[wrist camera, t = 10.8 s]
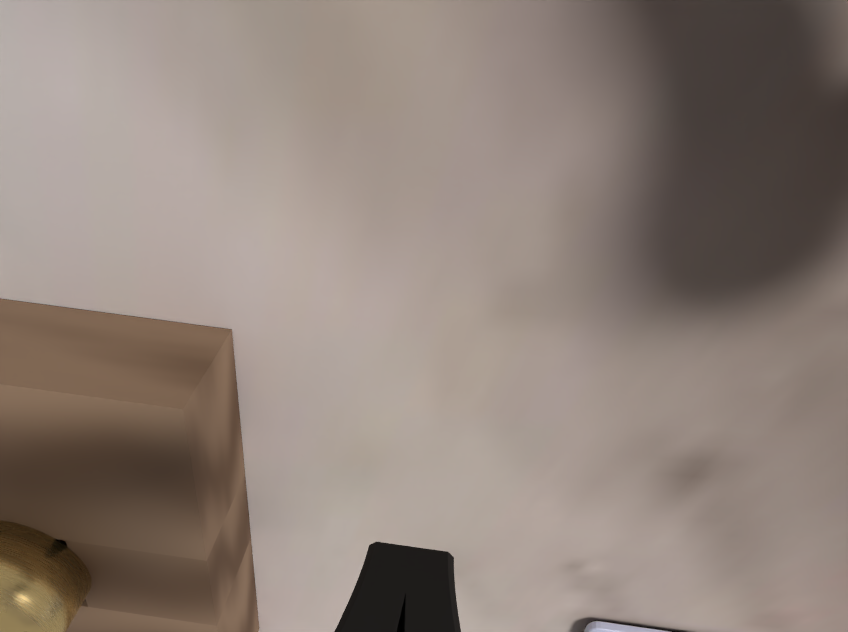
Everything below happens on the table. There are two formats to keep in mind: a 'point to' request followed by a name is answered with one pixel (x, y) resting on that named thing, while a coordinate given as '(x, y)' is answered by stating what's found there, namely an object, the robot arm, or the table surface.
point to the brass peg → (38, 581)
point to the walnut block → (130, 463)
